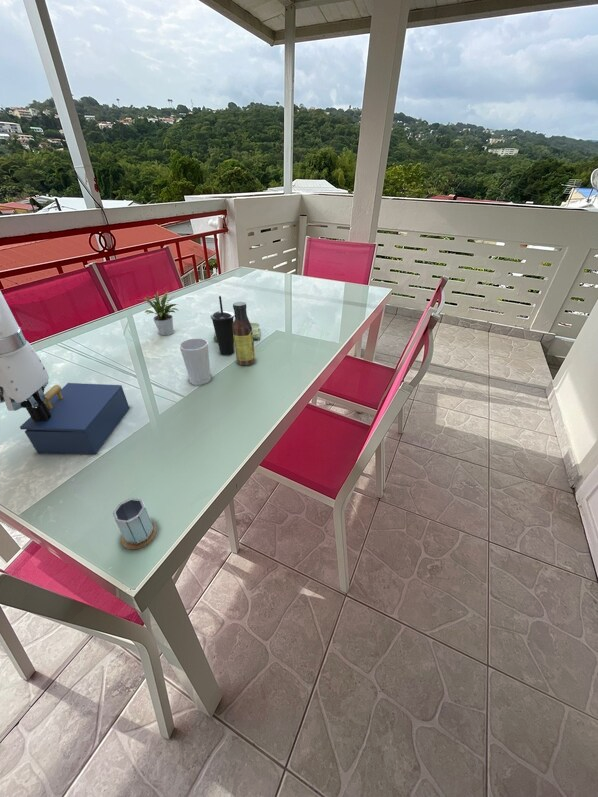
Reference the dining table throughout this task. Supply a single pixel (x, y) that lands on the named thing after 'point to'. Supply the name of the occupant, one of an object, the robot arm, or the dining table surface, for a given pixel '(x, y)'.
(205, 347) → the cup
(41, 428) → the lid
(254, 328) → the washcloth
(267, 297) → the dining table surface
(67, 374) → the dining table surface
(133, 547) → the coaster
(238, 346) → the sauce bottle
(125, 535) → the tumbler
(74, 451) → the chest
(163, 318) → the house plant
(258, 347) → the dining table surface
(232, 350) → the drinking cup
